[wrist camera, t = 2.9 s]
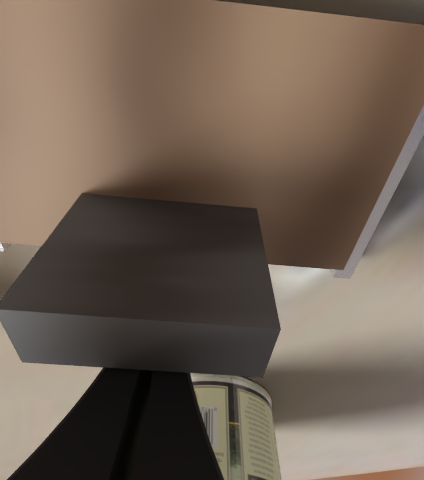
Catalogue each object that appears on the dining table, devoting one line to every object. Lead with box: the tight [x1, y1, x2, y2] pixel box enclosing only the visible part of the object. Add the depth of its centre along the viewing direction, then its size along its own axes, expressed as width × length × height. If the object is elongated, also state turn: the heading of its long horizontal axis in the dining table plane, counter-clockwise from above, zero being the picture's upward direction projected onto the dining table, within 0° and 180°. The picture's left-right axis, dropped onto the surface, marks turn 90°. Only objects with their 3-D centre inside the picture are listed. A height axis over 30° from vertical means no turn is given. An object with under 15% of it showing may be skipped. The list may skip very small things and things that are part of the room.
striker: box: [0, 0, 424, 377], centre depth 8 cm, size 14×8×7 cm, turn 85°
